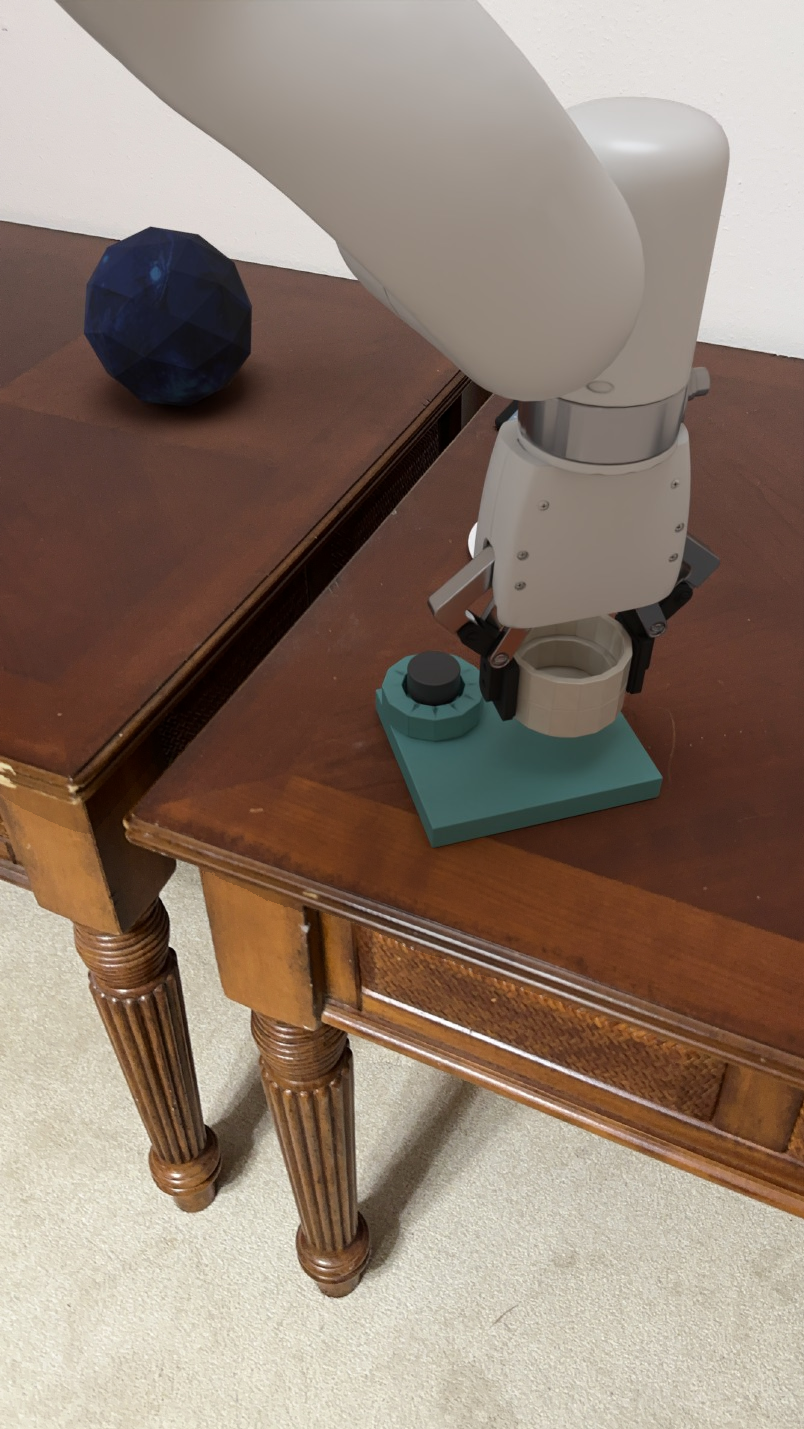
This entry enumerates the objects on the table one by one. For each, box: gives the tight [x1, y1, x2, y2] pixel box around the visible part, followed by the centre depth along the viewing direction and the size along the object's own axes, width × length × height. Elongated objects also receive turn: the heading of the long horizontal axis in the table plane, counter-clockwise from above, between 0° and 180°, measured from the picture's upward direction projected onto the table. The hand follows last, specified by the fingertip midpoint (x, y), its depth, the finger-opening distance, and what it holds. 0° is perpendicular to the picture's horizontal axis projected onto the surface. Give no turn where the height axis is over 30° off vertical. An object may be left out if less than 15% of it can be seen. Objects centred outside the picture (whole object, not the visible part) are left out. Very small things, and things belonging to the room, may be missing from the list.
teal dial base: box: [375, 653, 664, 849], centre depth 67 cm, size 14×13×4 cm
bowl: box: [514, 614, 632, 738], centre depth 62 cm, size 7×7×4 cm
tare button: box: [407, 650, 461, 706], centre depth 66 cm, size 3×3×2 cm
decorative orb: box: [83, 225, 253, 407], centre depth 96 cm, size 14×15×15 cm
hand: (562, 689), depth 63 cm, fingers closed on bowl, 7 cm apart
